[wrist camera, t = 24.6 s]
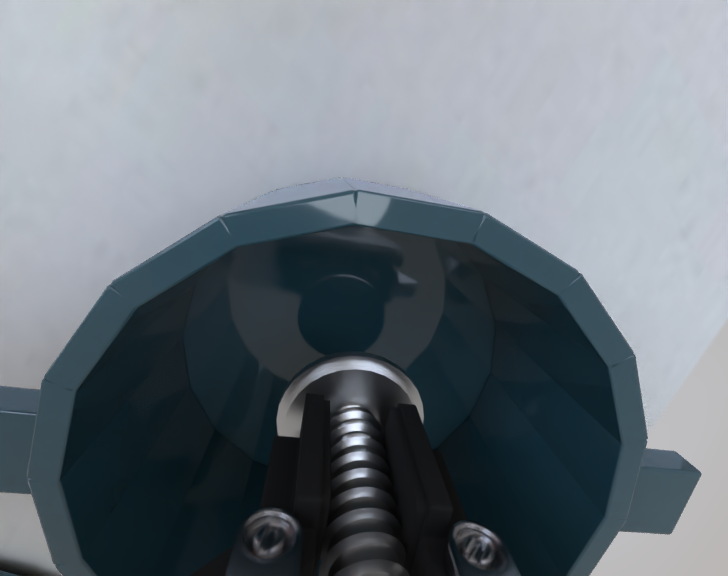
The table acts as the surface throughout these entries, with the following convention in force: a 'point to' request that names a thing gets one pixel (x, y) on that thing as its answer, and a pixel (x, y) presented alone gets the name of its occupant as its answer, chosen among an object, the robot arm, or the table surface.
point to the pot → (322, 338)
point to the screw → (355, 457)
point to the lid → (7, 574)
